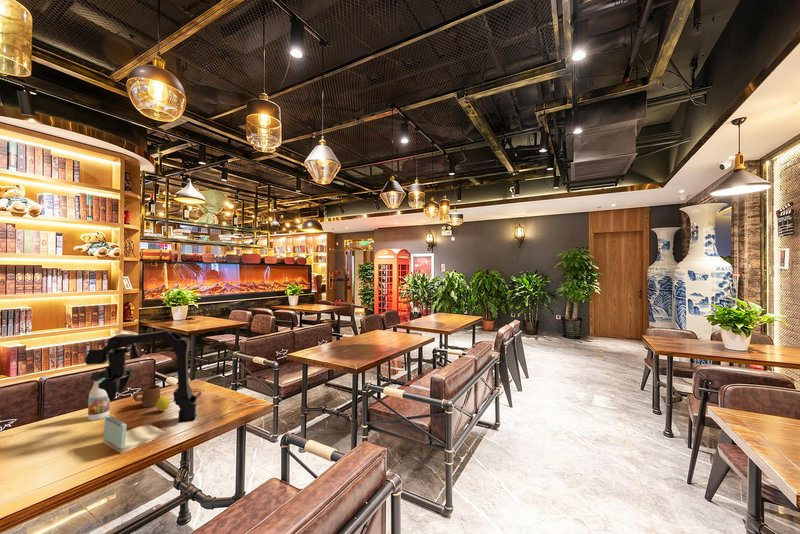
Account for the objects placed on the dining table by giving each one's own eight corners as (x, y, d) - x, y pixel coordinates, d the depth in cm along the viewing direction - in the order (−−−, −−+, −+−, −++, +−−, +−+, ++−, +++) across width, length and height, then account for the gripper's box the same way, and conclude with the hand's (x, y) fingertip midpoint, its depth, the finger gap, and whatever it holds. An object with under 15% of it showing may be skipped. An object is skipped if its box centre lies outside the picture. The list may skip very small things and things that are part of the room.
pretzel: (172, 401, 177) (172, 394, 177) (184, 393, 188) (184, 387, 188) (195, 400, 178) (195, 393, 178) (205, 393, 189) (205, 386, 189)
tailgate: (107, 437, 135) (109, 415, 135) (125, 447, 127) (127, 424, 128) (102, 438, 133) (104, 416, 134) (120, 449, 126) (122, 425, 126)
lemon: (160, 409, 166) (161, 393, 166) (171, 409, 167) (172, 393, 167) (153, 413, 161) (153, 398, 161) (165, 413, 161) (165, 397, 161)
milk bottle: (84, 419, 154) (85, 377, 154) (104, 412, 161) (105, 373, 162) (93, 422, 151) (94, 380, 151) (112, 415, 158) (114, 375, 159)
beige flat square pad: (147, 426, 148) (147, 423, 148) (165, 435, 140) (166, 432, 140) (103, 442, 134) (103, 439, 134) (120, 453, 126) (120, 449, 126)
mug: (136, 412, 162) (137, 393, 162) (128, 409, 165) (129, 391, 165) (162, 403, 173) (163, 386, 173) (154, 401, 176) (155, 384, 176)
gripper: (104, 358, 151) (103, 391, 151) (83, 370, 134) (82, 407, 134) (133, 356, 155) (132, 388, 155) (116, 367, 138) (115, 403, 138)
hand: (116, 396), depth 145 cm, fingers open, 9 cm apart
